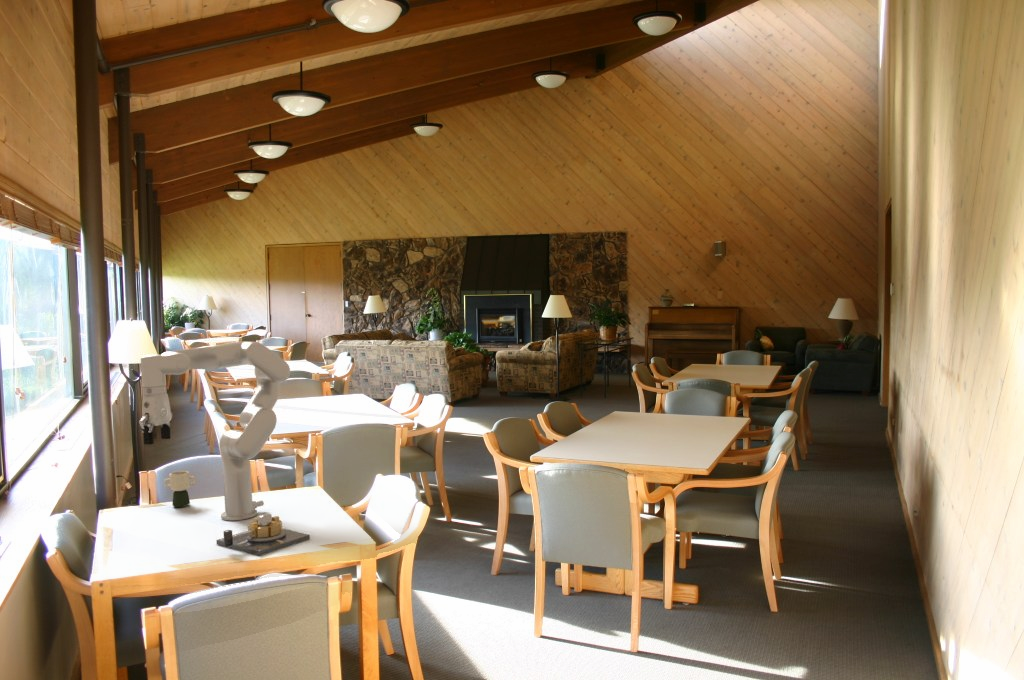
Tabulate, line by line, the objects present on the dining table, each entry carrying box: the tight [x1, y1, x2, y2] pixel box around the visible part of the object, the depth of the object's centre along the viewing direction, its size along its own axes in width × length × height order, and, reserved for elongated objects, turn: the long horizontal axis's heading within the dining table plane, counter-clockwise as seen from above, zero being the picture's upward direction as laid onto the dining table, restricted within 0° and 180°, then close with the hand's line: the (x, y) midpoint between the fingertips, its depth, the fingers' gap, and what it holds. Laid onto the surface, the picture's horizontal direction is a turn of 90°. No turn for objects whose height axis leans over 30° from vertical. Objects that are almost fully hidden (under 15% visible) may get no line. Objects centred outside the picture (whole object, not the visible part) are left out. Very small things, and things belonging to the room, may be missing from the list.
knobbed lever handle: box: [223, 515, 283, 547], centre depth 277 cm, size 20×10×4 cm, turn 143°
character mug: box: [164, 470, 196, 508], centre depth 329 cm, size 11×7×13 cm, turn 106°
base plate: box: [215, 513, 311, 557], centre depth 280 cm, size 20×22×8 cm
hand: (157, 441), depth 291 cm, fingers open, 9 cm apart
